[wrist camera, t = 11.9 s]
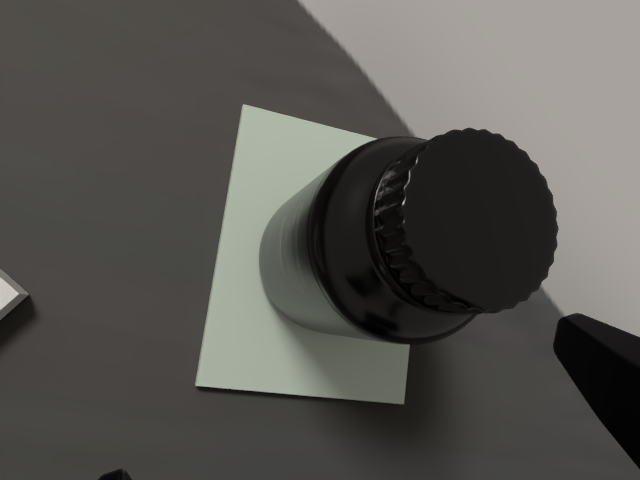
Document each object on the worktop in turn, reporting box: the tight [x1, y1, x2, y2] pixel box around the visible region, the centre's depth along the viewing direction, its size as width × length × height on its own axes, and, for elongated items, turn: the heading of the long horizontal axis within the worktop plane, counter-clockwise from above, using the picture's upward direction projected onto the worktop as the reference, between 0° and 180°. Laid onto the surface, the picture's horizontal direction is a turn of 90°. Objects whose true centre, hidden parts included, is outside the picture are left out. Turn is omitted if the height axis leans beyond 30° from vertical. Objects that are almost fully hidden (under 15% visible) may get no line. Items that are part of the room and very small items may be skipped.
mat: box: [195, 104, 410, 404], centre depth 24 cm, size 13×10×1 cm
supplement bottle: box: [259, 128, 558, 345], centre depth 18 cm, size 7×7×12 cm
